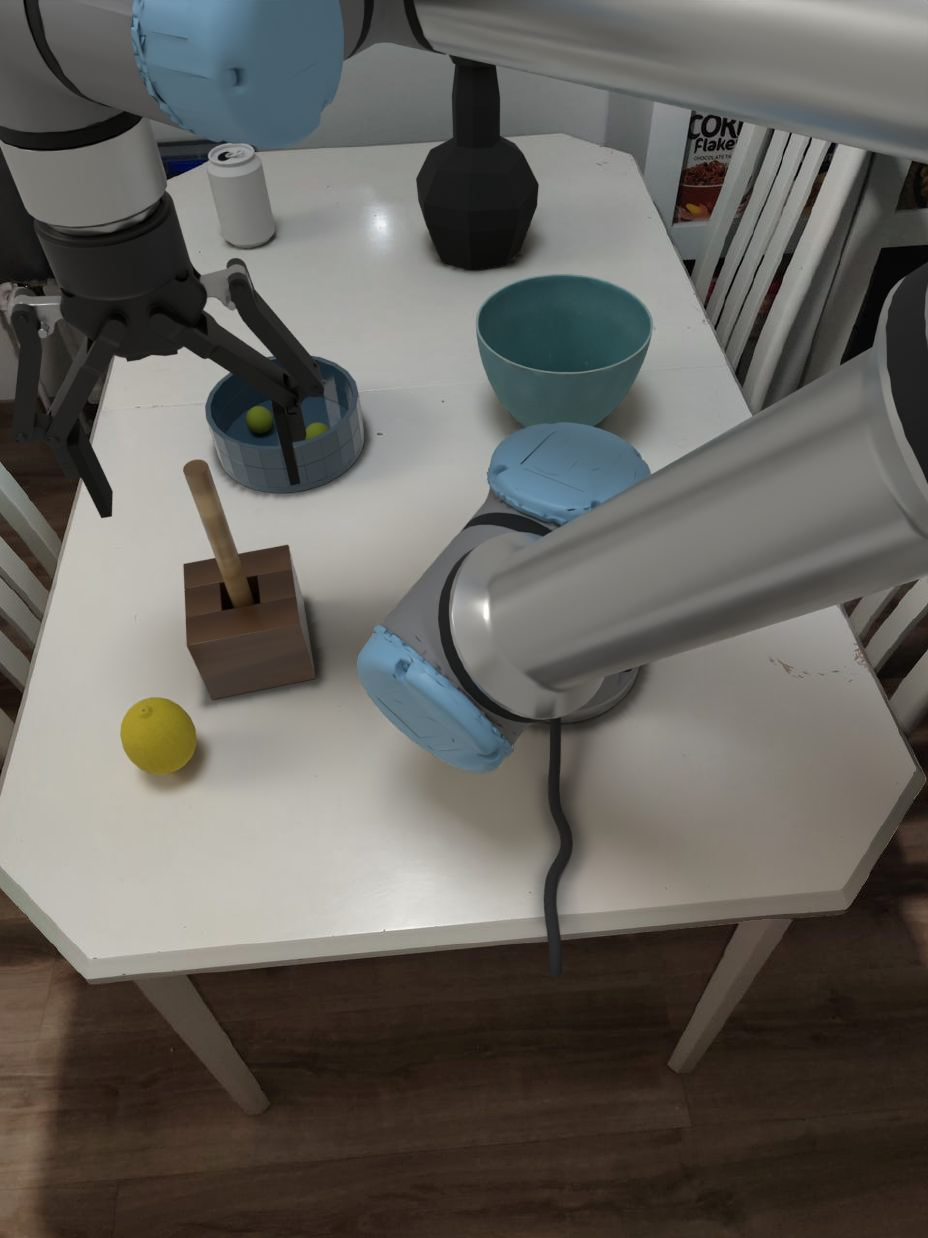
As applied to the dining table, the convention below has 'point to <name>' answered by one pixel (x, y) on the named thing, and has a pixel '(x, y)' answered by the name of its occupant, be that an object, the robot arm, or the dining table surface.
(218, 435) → the bowl
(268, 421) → the ball
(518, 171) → the bottle
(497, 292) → the deep teal bowl
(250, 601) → the stick
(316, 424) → the ball
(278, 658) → the stick holder
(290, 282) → the dining table surface
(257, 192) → the can
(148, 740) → the lemon
